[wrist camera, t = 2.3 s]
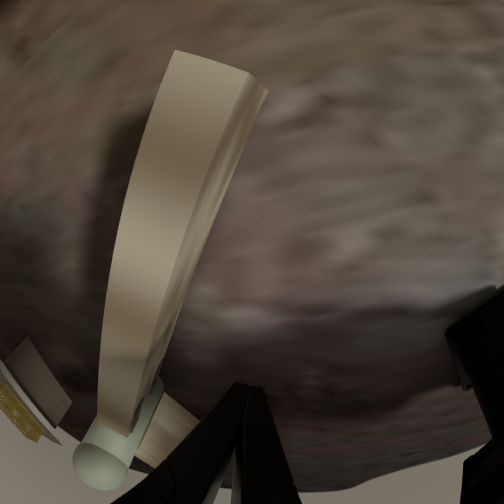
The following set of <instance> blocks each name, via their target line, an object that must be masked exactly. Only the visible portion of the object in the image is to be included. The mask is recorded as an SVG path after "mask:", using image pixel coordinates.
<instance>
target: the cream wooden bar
mask: <svg viewBox="0 0 504 504" xmlns="http://www.w3.org/2000/svg"><path fill="white" fill-rule="evenodd" d="M268 93H269V91H268V90H267V89H266V88H265V87H264V86H263V85H262V84H261V83H260V82H258V81H257V80H256V79H255V78H254V77H253V76H252V75H251V74H250V73H248V72H245V71H242V70H240V69H237V68H234V67H231V66H228V65H225V64H222V63H219V62H216V61H213V60H209V59H206V58H203V57H200V56H196V55H193V54H189V53H185V52H182V51H178V50H175V51H174V53H173V56H172V58H171V60H170V63H169V65H168V68H167V70H166V73H165V75H164V78H163V80H162V83H161V85H160V88H159V91H158V93H157V96H156V99H155V101H154V104H153V107H152V110H151V113H150V116H149V119H148V122H147V125H146V128H145V131H144V134H143V137H142V140H141V143H140V146H139V150H138V153H137V156H136V160H135V163H134V167H133V170H132V174H131V178H130V181H129V185H128V189H127V193H126V197H125V201H124V205H123V210H122V214H121V218H120V223H119V227H118V232H117V237H116V242H115V247H114V252H113V258H112V263H111V269H110V275H109V281H108V288H107V294H106V302H105V309H104V317H103V326H102V336H101V347H100V359H99V375H98V400H97V422H98V423H99V424H101V425H103V426H105V427H107V428H109V429H111V430H113V431H115V432H116V433H118V434H120V435H122V436H124V437H127V438H128V436H129V434H130V433H131V434H132V432H133V430H134V428H135V426H136V424H137V422H138V419H139V415H140V412H141V409H142V407H143V405H144V403H145V401H146V399H147V397H148V394H149V395H151V393H152V390H153V388H154V386H155V384H156V382H157V379H158V376H159V373H160V370H161V367H162V364H163V361H164V356H165V353H166V350H167V347H168V344H169V341H170V338H171V335H172V332H173V329H174V327H175V324H176V321H177V318H178V315H179V312H180V310H181V307H182V304H183V301H184V299H185V296H186V293H187V290H188V288H189V285H190V282H191V279H192V277H193V274H194V271H195V269H196V266H197V263H198V261H199V258H200V255H201V253H202V250H203V248H204V245H205V242H206V240H207V237H208V235H209V232H210V230H211V227H212V225H213V222H214V219H215V217H216V214H217V212H218V209H219V207H220V205H221V202H222V200H223V197H224V195H225V192H226V190H227V187H228V185H229V183H230V180H231V178H232V175H233V173H234V171H235V168H236V166H237V163H238V161H239V159H240V156H241V154H242V152H243V149H244V147H245V145H246V142H247V140H248V138H249V135H250V133H251V131H252V129H253V126H254V124H255V122H256V120H257V117H258V115H259V113H260V111H261V108H262V106H263V104H264V102H265V100H266V97H267V95H268Z"/></svg>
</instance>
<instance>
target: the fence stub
mask: <svg viewBox="0 0 504 504" xmlns="http://www.w3.org/2000/svg"><path fill="white" fill-rule="evenodd" d="M199 422H200V420H198V419H197V418H196V417H195V416H193V415H192V414H191V413H190V412H188V411H187V410H186V409H185V408H183V407H182V406H181V405H180V404H178V403H177V402H176V401H175V400H174V399H172V398H171V397H170V396H169V395H168V394H166V393H165V392H162V394H161V396H160V398H159V401H158V403H157V405H156V407H155V409H154V412H153V414H152V416H151V418H150V421H149V423H148V425H147V427H146V430H145V432H144V434H143V436H142V439H141V441H140V443H139V445H138V448H137V450H136V452H135V454H134V455H135V456H136V457H138V458H139V459H141V460H142V461H144V462H145V463H147V464H149V465H150V466H152V467H153V468H156V467H157V466H158V465H159V464H160V463H161V462H162V461H163V460H164V459H166V457H167V456H168V455H169V454H170V453H171V452H172V451H173V450H174V449H175V448H176V447H177V446H178V444H179V443H180V442H181V441H182V440H183V439H184V438H185V437H186V436H187V435H188V434H189V433H190V432H191V430H192V429H193V428H194V427H195V426H196V425H197V424H198V423H199Z"/></svg>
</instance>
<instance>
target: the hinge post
mask: <svg viewBox="0 0 504 504" xmlns="http://www.w3.org/2000/svg"><path fill="white" fill-rule="evenodd" d="M163 390H164V384H163V382H162V380H161V378H160V377H159V376H158V379H157V382H156V384H155V386H154V388H153V390H152V393H151V395H149V394H148V397H147V399H146V401H145V403H144V405H143V407H142V409H141V412H140V415H139V419H138V422H137V424H136V426H135V428H134V430H133V432H132V434H131V433H130V434H129V436H128V438H127V437H124V436H122V435H120V434H118V433H116V432H115V431H113V430H111V429H109V428H107V427H105V426H103V425H101V424H99V423H98V422H97V416H96V417H95V419H94V421H93V423H92V424H91V426H90V428H89V430H88V431H87V433H86V435H85V437H84V438H83V440H82V442H81V443H80V444H79V445H78V446H77V448H76V449H75V451H74V454H73V466H74V469H75V472H76V473H77V475H78V477H79V478H80V479H81V480H82V481H83V482H84V483H85V484H87V485H88V486H90V487H92V488H94V489H97V490H104V491H107V490H113V489H115V488H117V487H119V486H121V484H123V482H124V481H125V479H126V477H127V474H128V468H129V466H130V464H131V461H132V459H133V457H134V454H135V452H136V450H137V448H138V445H139V443H140V441H141V439H142V436H143V434H144V432H145V430H146V427H147V425H148V423H149V421H150V418H151V416H152V414H153V412H154V409H155V407H156V405H157V403H158V401H159V398H160V396H161V394H162V392H163Z"/></svg>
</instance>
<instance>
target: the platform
mask: <svg viewBox="0 0 504 504" xmlns="http://www.w3.org/2000/svg"><path fill="white" fill-rule="evenodd" d="M2 393H3V394H2ZM3 395H4V397H5V398H4V397H2V396H3ZM0 396H1V397H0V399H1V398H2V399H1V400H0V402H1V401H2V400H3V399H4V400H3V401H2V402H1V404H2V406H3V407H2V406H1V404H0V406H1V407H2V409H3V408H4V407H5V408H4V409H3V410H2V409H1V407H0V409H1V410H2V411H3V412H4V414H5V415H6V414H7V413H8V414H9V413H10V414H9V415H8V414H7V415H6V416H7V417H8V418H9V419H10V418H11V417H12V418H11V419H10V420H11V422H12V423H13V424H14V425H15V424H16V425H15V426H16V427H17V428H18V429H19V428H20V429H21V428H22V429H21V430H20V429H19V430H20V431H21V433H22V434H23V435H24V436H25V435H26V436H25V437H26V438H28V439H30V440H32V441H34V442H36V443H37V441H38V440H39V438H40V436H41V435H43V436H45V437H47V438H48V439H50V440H51V441H53V442H55V443H57V444H60V445H62V444H63V442H64V439H63V438H62V437H61V436H60V435H59V433H57V431H56V430H55V428H56V427H57V425H58V424H59V422H60V421H61V419H62V418H63V416H64V414H65V413H66V411H67V410H68V408H69V407H70V405H71V404H72V401H71V399H70V398H69V397H68V395H67V394H66V393H65V391H64V390H63V389H62V387H61V386H60V384H59V383H58V382H57V380H56V379H55V377H54V376H53V374H52V373H51V371H50V370H49V368H48V367H47V365H46V364H45V362H44V361H43V359H42V358H41V356H40V355H39V353H38V351H37V350H36V348H35V346H34V345H33V343H32V341H31V340H30V338H29V337H27V338H26V339H25V340H24V341H23V342H22V343H21V344H20V345H19V346H18V347H17V348H16V349H15V350H14V351H13V353H12V354H11V355H10V356H9V357H8V358H7V359H6V360H5V361H4V363H3V362H2V361H1V360H0ZM4 401H5V402H4ZM3 402H4V403H3ZM4 404H5V405H4ZM5 409H6V410H5ZM14 409H15V410H14ZM4 410H5V411H4ZM11 410H12V411H11ZM6 411H7V412H6ZM15 411H16V412H15ZM5 412H6V413H5ZM12 412H13V413H12ZM14 412H15V414H16V413H17V412H18V413H17V414H16V415H15V414H14ZM11 413H12V414H11ZM13 414H14V415H13ZM10 415H11V416H10ZM17 415H18V416H17ZM9 416H10V417H9ZM14 416H15V417H14ZM15 418H16V419H15ZM12 419H13V420H14V419H15V420H14V421H13V420H12ZM15 421H16V422H17V423H16V422H15ZM14 422H15V423H14ZM18 423H19V424H18ZM17 424H18V425H17ZM28 424H29V425H28ZM19 425H20V426H21V427H20V426H19ZM25 425H26V426H25ZM27 425H28V426H27ZM18 426H19V427H18ZM22 426H23V427H22ZM29 426H30V427H31V428H30V427H29ZM26 427H27V428H26ZM28 427H29V428H28ZM25 428H26V429H25ZM27 429H28V430H29V429H30V430H29V431H28V430H27ZM22 430H23V431H24V430H25V431H24V432H23V431H22ZM26 430H27V431H26ZM25 432H26V433H27V434H26V433H25ZM24 433H25V434H24Z"/></svg>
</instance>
